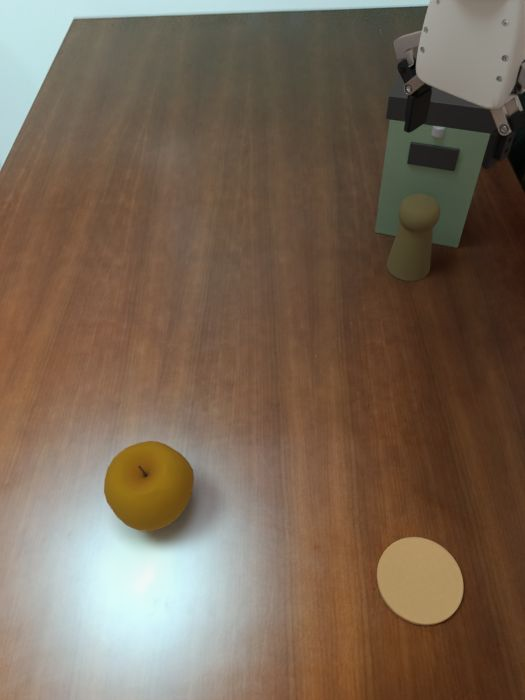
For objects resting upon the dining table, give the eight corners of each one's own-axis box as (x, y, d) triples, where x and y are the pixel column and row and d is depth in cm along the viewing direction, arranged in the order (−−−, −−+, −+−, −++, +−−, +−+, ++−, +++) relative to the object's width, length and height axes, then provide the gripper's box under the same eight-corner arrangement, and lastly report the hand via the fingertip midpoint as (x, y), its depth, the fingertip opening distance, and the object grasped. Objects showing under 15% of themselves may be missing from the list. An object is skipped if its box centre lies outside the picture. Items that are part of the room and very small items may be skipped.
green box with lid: (465, 226, 86) (506, 88, 69) (460, 251, 83) (501, 112, 66) (378, 211, 89) (397, 75, 72) (370, 234, 86) (387, 98, 69)
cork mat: (467, 553, 57) (469, 551, 56) (455, 638, 52) (457, 637, 52) (386, 528, 59) (386, 526, 58) (367, 608, 54) (368, 606, 54)
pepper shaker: (435, 257, 82) (451, 192, 73) (423, 285, 79) (439, 222, 70) (393, 246, 84) (404, 182, 75) (380, 274, 81) (390, 210, 72)
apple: (203, 468, 64) (192, 427, 57) (195, 546, 58) (181, 511, 51) (126, 467, 64) (105, 426, 57) (111, 544, 59) (86, 509, 52)
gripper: (621, -30, 45) (546, 161, 59) (436, -77, 53) (408, 101, 67) (571, 1, 42) (504, 195, 56) (383, -53, 50) (365, 128, 64)
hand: (452, 144), depth 61 cm, fingers open, 9 cm apart
